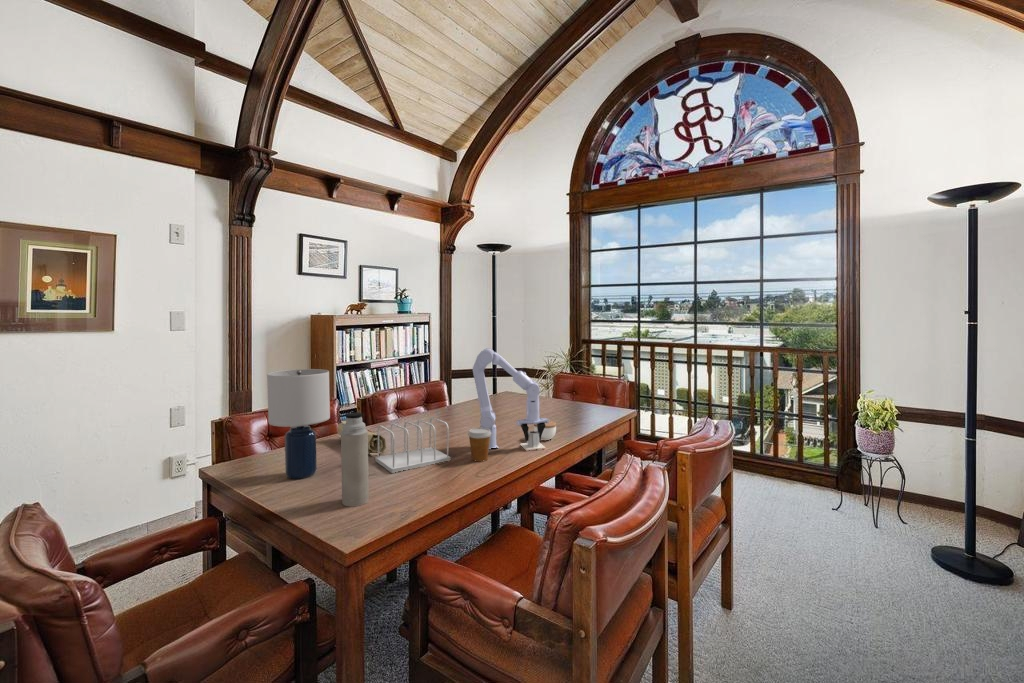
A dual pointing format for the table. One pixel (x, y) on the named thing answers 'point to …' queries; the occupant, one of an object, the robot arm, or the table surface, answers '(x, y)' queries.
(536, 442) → the collar
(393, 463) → the file sorter
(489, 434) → the disposable coffee cup
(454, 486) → the table surface
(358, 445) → the thermos bottle
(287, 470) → the lamp
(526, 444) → the white peg stand
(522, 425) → the robot arm
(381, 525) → the table surface
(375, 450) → the scroll
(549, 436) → the lidded jar
